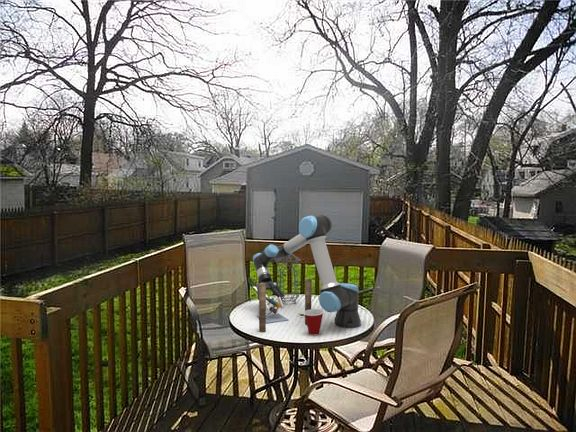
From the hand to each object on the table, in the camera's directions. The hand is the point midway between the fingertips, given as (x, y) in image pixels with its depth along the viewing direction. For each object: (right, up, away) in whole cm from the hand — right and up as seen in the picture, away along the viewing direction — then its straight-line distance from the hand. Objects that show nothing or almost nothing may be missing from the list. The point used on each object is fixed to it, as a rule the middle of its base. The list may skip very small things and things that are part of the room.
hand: (274, 308), depth 260 cm
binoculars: (-1, -4, +3) cm, 5 cm away
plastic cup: (+21, -9, -22) cm, 32 cm away
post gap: (+7, -8, -13) cm, 17 cm away
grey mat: (-1, -7, +3) cm, 8 cm away
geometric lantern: (+7, -5, +41) cm, 42 cm away
